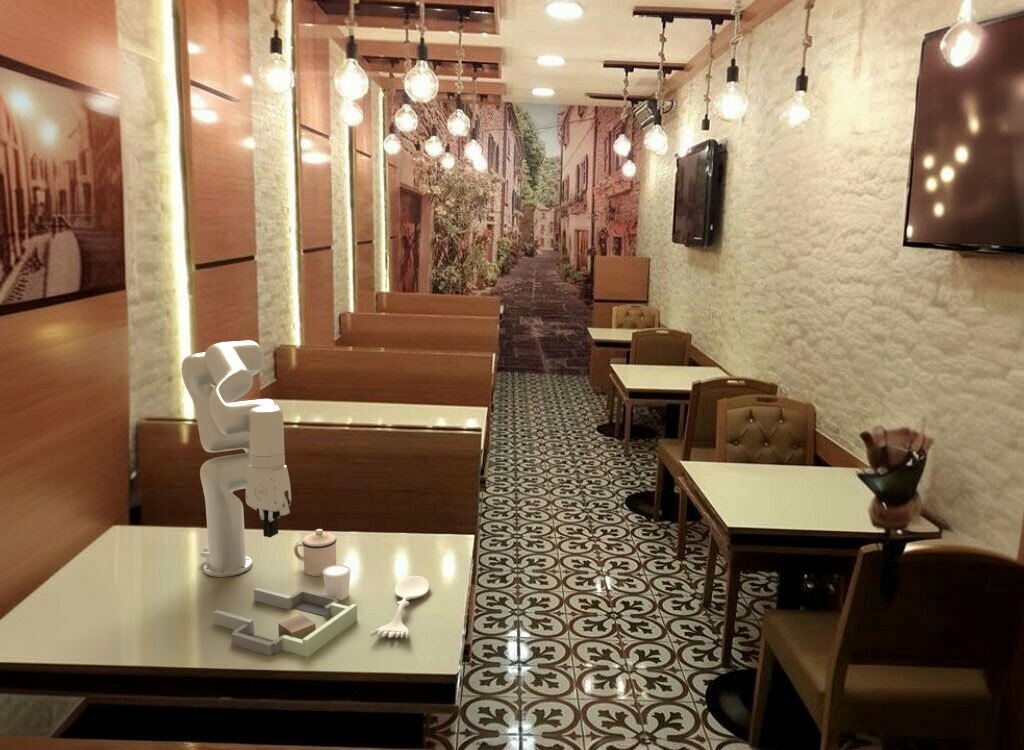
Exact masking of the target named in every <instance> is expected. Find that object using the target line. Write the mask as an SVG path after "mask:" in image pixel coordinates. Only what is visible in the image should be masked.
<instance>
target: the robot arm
mask: <svg viewBox="0 0 1024 750" xmlns="http://www.w3.org/2000/svg"><path fill="white" fill-rule="evenodd" d="M264 364H265V355H264V352H263V349H262V347H261V346H260V345H259V343H258V342H255V341H254V340H239V341H222V342H217V343H214V344H211V345H210V346H209V347H208V348H207V349H206V350H205V352H197V353H193V354H189V355H188V356H186V357H185V358H184V359H183V360H182V362H181V376H182V379H183V380H182V381H183V383H184V386H185V388H186V390H187V392H188V394H189V396H190V398H191V400H192V402H193V406H194V408H195V409H194V410H195V416H196V422H197V427H198V428H197V429H198V433H199V440H200V444H201V446H202V448H203V450H204V451H205V452H207V453H221V452H228V451H229V452H230V451H236V450H240V449H241V450H244V453H237V454H229V455H224V456H218V457H217V456H216V457H214V458H213V457H212V458H210V459H208V460H206V461H205V462H204V463H203V464H202V465H201V467H200V470H199V476H200V481H201V485H202V490H203V495H204V501H205V511H206V512H205V514H206V515H205V516H206V529H207V530H206V531H207V544H208V545H207V546H205V547H204V548H203V551H202V552H200V557H202V558H205V559H206V563H205V564H204V565H203V572H204V574H205V575H207V576H210V577H214V578H215V577H216V578H227V577H232V576H233V577H234V576H236V575H240V574H243V573H245V572H247V571H249V569H251V568H252V566H253V561H252V558H251V557H249V556H247V555H246V554H247V553H246V535H245V516H244V515H245V514H244V506H243V502H242V501H241V499H240V498H239V497H238V496H236V495H235V494H234V493H233V492H235V491H239V490H242V489H245V503H246V506H249V507H250V508H252V509H253V510H255V511H256V512H257V513H258V514H259V519H260V520H261V521H262V527H263V528H262V529H263V531H262V532H263V537H264V538H272V537H274V536H276V535H278V534H279V521H278V520H279V519H280V518H281V516H286V515H288V514H290V513H291V511H290V507H289V506H291V503H292V490H291V488H292V487H291V481H290V480H291V479H290V475H289V470H288V467H287V466H288V465H286V458H285V457H286V456H285V453H286V452H285V431H284V413H283V411H282V409H281V408H280V407H279V405H278V404H277V403H276V402H275V401H274V400H272V399H270V398H262V399H261V398H259V399H252V400H251V399H250V400H243V401H236V400H239V399H241V398H242V397H243V396H245V395H246V394H248V393H249V391H250V390H251V389H252V386H253V384H254V376H255V375H258V373H260V371H262V370H263V367H264ZM214 384H215V385H214Z"/></svg>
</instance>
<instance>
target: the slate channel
mask: <svg viewBox="0 0 1024 750" xmlns="http://www.w3.org/2000/svg"><path fill="white" fill-rule="evenodd" d="M253 598H254V600H253V601H256V602H260V603H262V604H265V605H269V606H274V607H276V608H282V609H286V610H291V609H293V608H292V596H291V595H288V594H284V593H279V592H276V591H272V590H269V589H264V588H260V587H256V588H254V589H253ZM330 612H331V616H330V617H331V618H330V619H329V620H328V621H326V622H325V623H323V624H322V625H320V626H319V627H317V628H316V630H315V631H313V632H312V633H311V634H309V635H308V636H306V637H305V638H303V639H302V640H301V639H298V638H294V637H291V636H288V635H285V636H283V637H282V650H281V651H286V652H289V653H293V654H296V655H299V656H301V657H306V658H308V657H309V656H311V655H313V654H314V653H315V652H316V651H318V650H319V649H321V648H323V646H324V645H326V644H328V643H329V642H330V641H332V640H333V639H334V638H335V637H337V636H338V635H340V634H341V633H342V632H343V631H345V630H346V629H348V628H349V627H350V626H351V625H352V624H355V623H356V622H357V621H358V605H357V604H356V603H355V604H354V603H352V604H350V605H349V606H348V605H344V604H337V603H332V604H330ZM213 618H214V620H213V621H214V625H218V626H222V627H225V628H228V629H231V630H233V631H234V630H235V629H237V628H239V627H240V626H242V625H244V624H245V623H247V624H250V634H254V631H255V629H254V628H255V627H254V619H252V618H247V617H244V616H241V615H237V614H234V613H230V612H227V611H223V610H219V609H217V610H215V611H214V612H213Z"/></svg>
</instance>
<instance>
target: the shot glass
mask: <svg viewBox="0 0 1024 750" xmlns="http://www.w3.org/2000/svg"><path fill="white" fill-rule="evenodd" d="M322 577H323V583H324V589H325V595H328V596H332V597H336V598H339V599H340V601H343V600H346V599H347V598H348V597H349V595H350V593H349V592H350V580H351V579H350V578H351V568H350V567H349V566H347V565H343V564H336V565H333V566H329V567H327V568H325V569H324V570H323V576H322Z"/></svg>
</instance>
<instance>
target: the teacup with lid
mask: <svg viewBox="0 0 1024 750" xmlns="http://www.w3.org/2000/svg"><path fill="white" fill-rule="evenodd" d="M302 539H303V540H302V542H299V543H297V544H295V546H294V547H293V552H294V554H295V557H296V558H297V559H298V560H299V561H301V562H303V571H304V572H305V574H306V575H309V576H311V577H312V576H313V577H323V570H324V569H325V568H327V567H329V566H333V565H337V544H336V542H337V537H336V536H335V535H334V533H333V534H332V533H330V532H325V531H324V530H323V529H322V528H317V529H315V532H313V533H311V534H307V535H306V536H304V538H302ZM299 547H303V548H302V549H303V556H302V555H301V554H300V552H299V550H298V548H299Z"/></svg>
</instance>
